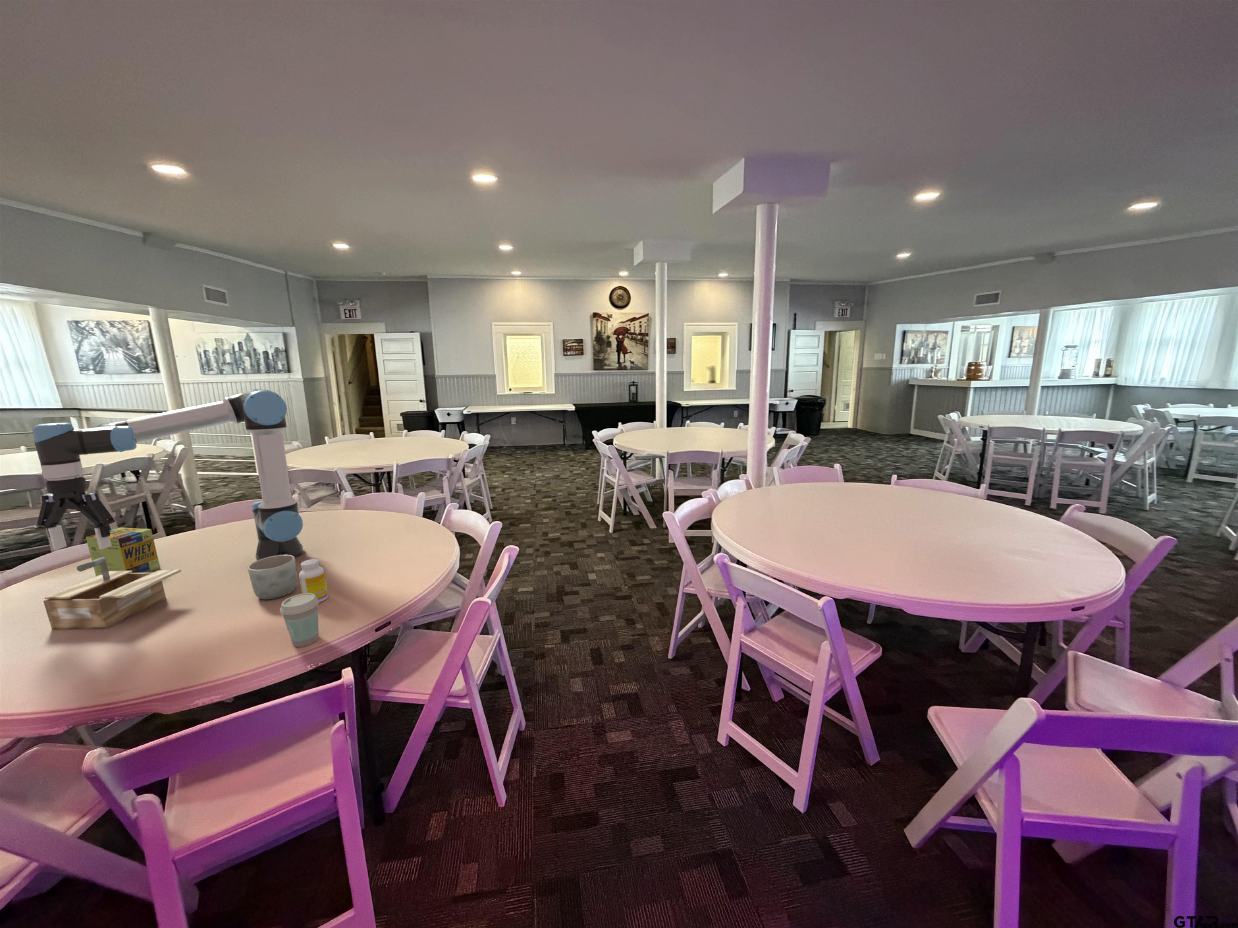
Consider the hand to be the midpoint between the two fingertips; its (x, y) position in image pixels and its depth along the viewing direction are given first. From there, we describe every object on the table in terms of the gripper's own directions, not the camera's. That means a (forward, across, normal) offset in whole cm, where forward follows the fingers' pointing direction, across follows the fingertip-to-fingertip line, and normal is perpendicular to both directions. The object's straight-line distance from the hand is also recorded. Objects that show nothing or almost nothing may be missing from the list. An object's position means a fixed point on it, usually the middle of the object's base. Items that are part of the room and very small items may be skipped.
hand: (83, 547), depth 140 cm
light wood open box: (+21, -7, -1) cm, 22 cm away
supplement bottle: (+21, -62, -7) cm, 66 cm away
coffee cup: (+21, -74, +16) cm, 79 cm away
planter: (+21, -46, -12) cm, 52 cm away
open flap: (+12, +1, -1) cm, 12 cm away
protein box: (+22, +23, -31) cm, 44 cm away
